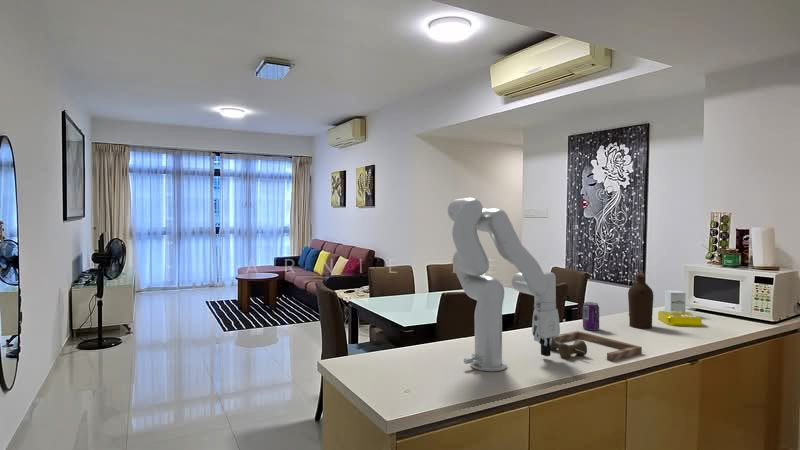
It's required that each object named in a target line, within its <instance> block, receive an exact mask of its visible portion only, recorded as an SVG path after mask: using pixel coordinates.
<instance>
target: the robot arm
mask: <svg viewBox="0 0 800 450" xmlns="http://www.w3.org/2000/svg"><path fill="white" fill-rule="evenodd" d="M447 215H448V216H449V217H448V218H450V220H452V221H453V222H454V223H453V226H452V230H451V231H452V232H451V234H452V235H451V236H452V240H453V243H454V247H455V248H456V251H455V252H454V254H453V256H452V267H453V270H454V272H455V275H456V277H457V279H458V281H459V283H460V285H461V288H462V289H463V292H464V293H465V294H466V295H467V297H469V298H470V299H473V300H475V301H476V305H475V309H474V317H473V318H474V352H473V353H471V354H472V355H471V356H470V357H465V358H463V363H464V364H465V365H467V364H470V366H471V368H473V369H475V370H478V371H482V372H483V371H484V372H501V371H504V370H505V369H507V367H508V363H507V362H506V361H505V360H503V305H504V299H505V287H504V285H503V283H502V282H501V281H500V280H499V279H497V278H496V277H494V276H489V275H486V274H487V272H488V271H489V269H490V261H489V258H488V256H487V254H486V252H485V249H484V248H483V245H482V243H481V240H480V238H479V234H478V231H480V232H485V233H488V234H489V236H490V238H491V239H492V242H493V243H494V246H495V248H496V250H497V252H498V254H499V255H500V256H501V257H502V258H503V259H504V260H506V261H507V262H509V263H510V264H511V265H513V266H514V268H516V269H517V270H518V271H519V272H517V273H515V274H514V275H513V277H512V279H511V285H512V288H513V289H515V291H517V292H520V293H522V294H526V295H530V296H533V297H534V304H533V308H534V309H533V313H532V323H531V326H532V327H531V332H532V336H533V341H535V342H538V343H539V345H540V355H541V356H544V357H550V356H552V355H551V354H552V352H551V350H552V349H551V347H550V345H551V344H552V340H553V339H554V338H556V337H557V336H558V335H560V333H561V326H560V325H561V324H560V317H559V316H560V315H559V310H558V308H557V295H556V293H557V290H556V289H557V288H556V287H557V286H556V284H557V283H556V280H557V279H556V274H555V273H554V272H551V271H543V268H542V267H541V266H540V264H539V262H538V261H537V260H536V258H535V257H534V256H533V255H532V254H531V253H530V252H529V250H528V249H527V248H526V247H525V246H523V243H522V242H521V241H520V238H519V236H518V234H517V232H516V230H515V228H514V226H513V224H512V222H511V220H510V218H509V215H508V213H506V211H504V210H503V209H501V208H484V207H483V204H482V202H481V201H480V200H479V199H478V198H474V197H465V198H457V199H454V200H452V201H451V202H450V203H449V205H448V206H447Z"/></svg>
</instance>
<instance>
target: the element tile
mask: <svg viewBox="0 0 800 450" xmlns="http://www.w3.org/2000/svg"><path fill="white" fill-rule="evenodd" d="M657 317H658V318H657V320H659V321H660V322H661V323H663V324H664V325H667V326H671V327H692V328H693V327H694V328H695V327H697V328H699V327H702V325H703V324H702V321H703V320H702V317H700V316H698V315H697V314H693V313H692V312H689V311H685V312H673V311H672V312H671V311H665V310H663V311H661V310H659V311H658V312H657Z"/></svg>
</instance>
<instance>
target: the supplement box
mask: <svg viewBox="0 0 800 450" xmlns="http://www.w3.org/2000/svg"><path fill="white" fill-rule="evenodd" d="M686 293H687V292H684V291H681V290H672V289H671V290H668V289H667V290H666V289H665V290H664V311H671V312H672V311H673V312H686V295H687V294H686Z"/></svg>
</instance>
